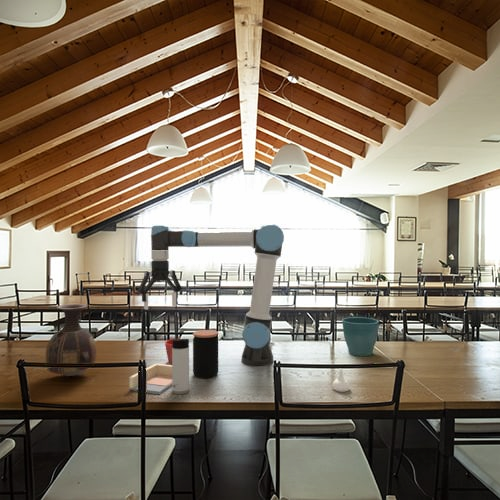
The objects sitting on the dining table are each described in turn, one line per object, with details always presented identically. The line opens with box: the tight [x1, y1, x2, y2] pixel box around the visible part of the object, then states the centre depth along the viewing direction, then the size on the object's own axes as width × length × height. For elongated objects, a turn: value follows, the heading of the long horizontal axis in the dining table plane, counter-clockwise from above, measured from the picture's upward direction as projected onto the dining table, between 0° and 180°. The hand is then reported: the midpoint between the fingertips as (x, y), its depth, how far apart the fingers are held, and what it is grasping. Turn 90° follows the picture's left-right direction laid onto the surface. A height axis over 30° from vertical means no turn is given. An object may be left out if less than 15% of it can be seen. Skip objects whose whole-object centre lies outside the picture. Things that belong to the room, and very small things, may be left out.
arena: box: [129, 363, 172, 395], centre depth 151 cm, size 13×18×5 cm
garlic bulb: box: [332, 368, 350, 393], centre depth 145 cm, size 6×6×8 cm
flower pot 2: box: [341, 316, 380, 357], centre depth 195 cm, size 18×18×17 cm
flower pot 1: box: [164, 338, 181, 365], centre depth 180 cm, size 11×11×10 cm
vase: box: [44, 303, 97, 377], centre depth 159 cm, size 23×19×30 cm
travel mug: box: [171, 338, 190, 395], centre depth 143 cm, size 6×7×20 cm
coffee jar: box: [192, 329, 219, 380], centre depth 162 cm, size 11×11×18 cm
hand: (160, 307), depth 170 cm, fingers open, 13 cm apart
